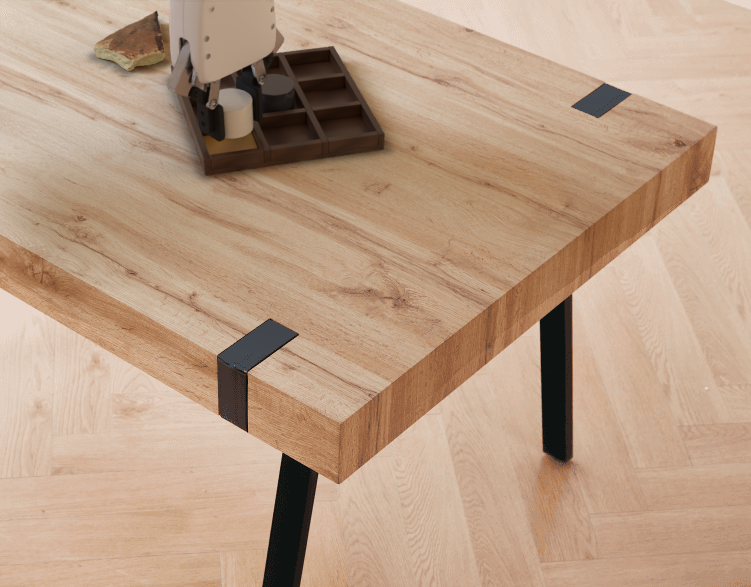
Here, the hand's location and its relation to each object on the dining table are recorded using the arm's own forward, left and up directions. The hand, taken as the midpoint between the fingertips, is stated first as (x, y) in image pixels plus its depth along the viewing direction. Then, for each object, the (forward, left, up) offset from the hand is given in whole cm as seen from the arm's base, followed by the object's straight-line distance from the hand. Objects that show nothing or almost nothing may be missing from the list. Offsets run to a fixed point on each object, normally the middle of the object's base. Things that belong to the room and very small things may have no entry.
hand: (231, 123), depth 109 cm
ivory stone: (0, 0, 0) cm, 0 cm away
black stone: (+6, +6, -3) cm, 9 cm away
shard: (-7, +24, -4) cm, 25 cm away
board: (+6, +6, -3) cm, 9 cm away
